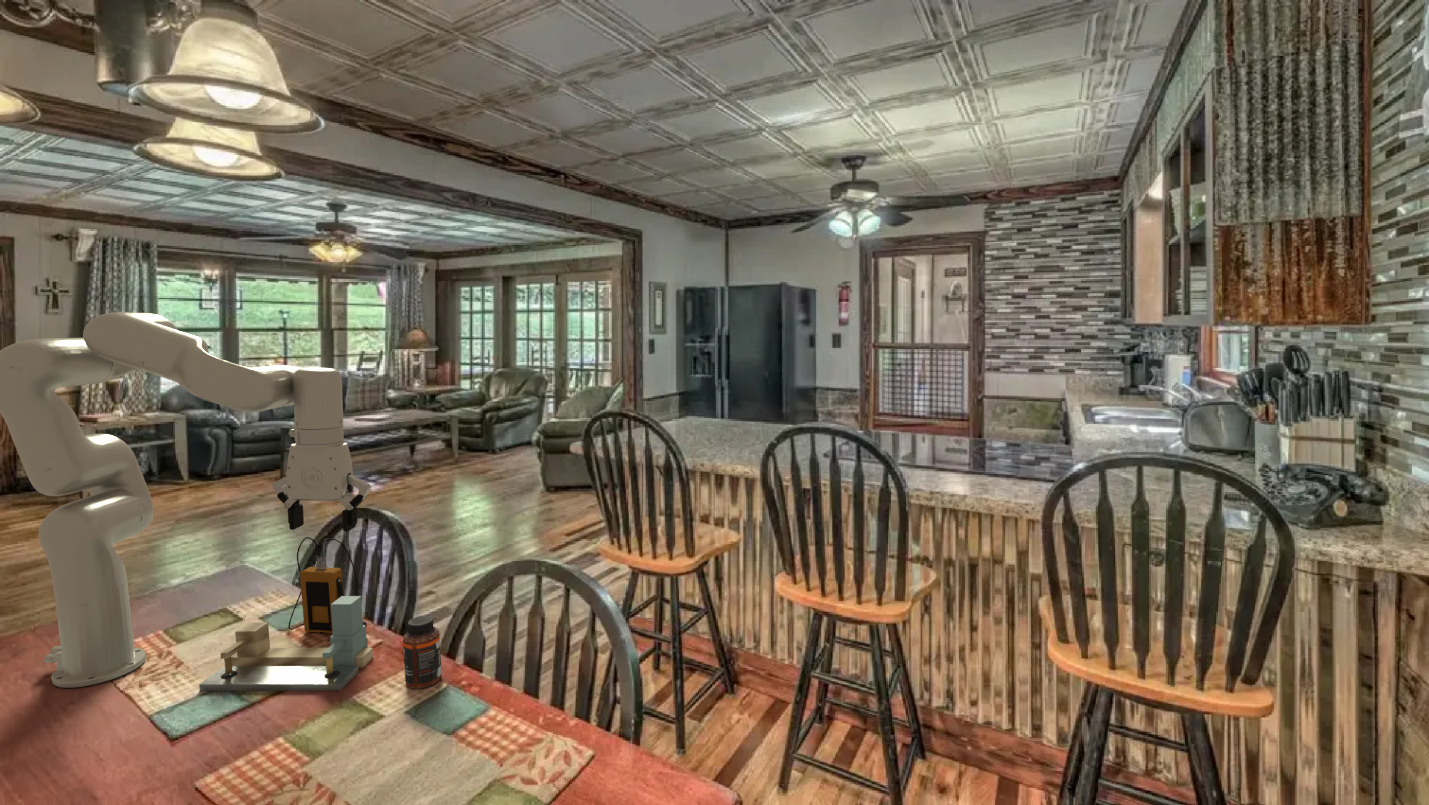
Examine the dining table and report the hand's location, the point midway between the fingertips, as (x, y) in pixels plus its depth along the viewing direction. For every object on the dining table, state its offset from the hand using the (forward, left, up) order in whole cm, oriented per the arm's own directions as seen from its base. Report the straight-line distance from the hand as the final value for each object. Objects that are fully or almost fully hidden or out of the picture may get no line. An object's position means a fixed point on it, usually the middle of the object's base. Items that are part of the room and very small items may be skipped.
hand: (323, 528), depth 121 cm
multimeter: (-8, +15, -26) cm, 31 cm away
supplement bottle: (+20, -8, -26) cm, 34 cm away
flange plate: (-5, -8, -25) cm, 27 cm away
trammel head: (+4, -3, -25) cm, 25 cm away
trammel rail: (-5, -4, -25) cm, 26 cm away
